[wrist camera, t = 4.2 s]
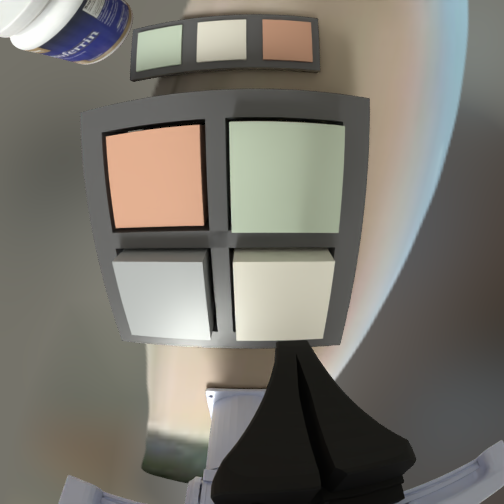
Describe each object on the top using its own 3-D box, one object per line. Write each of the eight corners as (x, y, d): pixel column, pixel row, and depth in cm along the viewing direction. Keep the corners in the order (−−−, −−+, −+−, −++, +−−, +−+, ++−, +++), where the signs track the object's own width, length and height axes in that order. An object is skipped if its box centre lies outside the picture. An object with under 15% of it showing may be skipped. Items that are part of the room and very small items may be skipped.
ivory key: (314, 311, 19) (322, 338, 17) (238, 312, 19) (236, 340, 17) (322, 240, 17) (335, 261, 14) (236, 240, 17) (232, 262, 14)
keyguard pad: (329, 315, 22) (340, 344, 18) (137, 313, 22) (122, 340, 18) (348, 104, 15) (369, 98, 12) (108, 113, 15) (80, 112, 12)
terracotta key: (211, 210, 18) (203, 225, 15) (134, 213, 18) (115, 228, 15) (208, 126, 15) (199, 124, 13) (127, 135, 16) (105, 136, 13)
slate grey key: (216, 312, 19) (210, 340, 17) (145, 309, 19) (132, 334, 17) (210, 241, 17) (202, 261, 14) (131, 242, 17) (112, 261, 14)
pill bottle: (68, 75, 14) (-30, 63, 5) (74, 16, 11) (-7, -17, 2) (134, 53, 14) (44, 7, 5) (138, -8, 11) (71, -71, 2)
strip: (315, 21, 13) (318, 17, 12) (318, 72, 14) (320, 69, 14) (136, 32, 13) (132, 28, 12) (133, 81, 15) (128, 79, 14)
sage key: (324, 216, 16) (338, 233, 14) (235, 215, 17) (231, 232, 14) (328, 127, 14) (345, 126, 12) (233, 124, 14) (229, 121, 12)
